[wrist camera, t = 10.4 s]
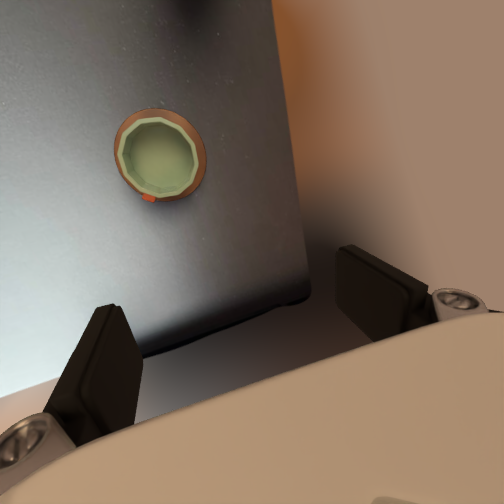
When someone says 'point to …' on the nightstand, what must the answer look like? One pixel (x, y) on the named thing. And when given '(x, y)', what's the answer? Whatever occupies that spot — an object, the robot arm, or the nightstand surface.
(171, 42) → the nightstand surface
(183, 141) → the bowl
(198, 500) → the robot arm
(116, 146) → the plate
